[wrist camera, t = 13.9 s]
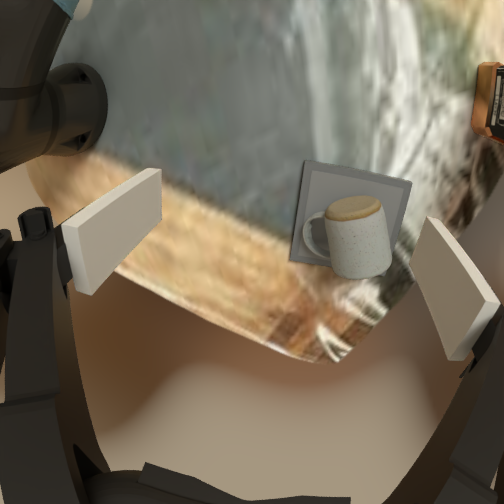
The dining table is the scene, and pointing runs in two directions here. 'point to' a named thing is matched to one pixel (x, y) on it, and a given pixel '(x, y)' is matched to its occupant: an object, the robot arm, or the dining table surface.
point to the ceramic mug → (354, 237)
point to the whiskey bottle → (489, 102)
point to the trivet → (338, 187)
